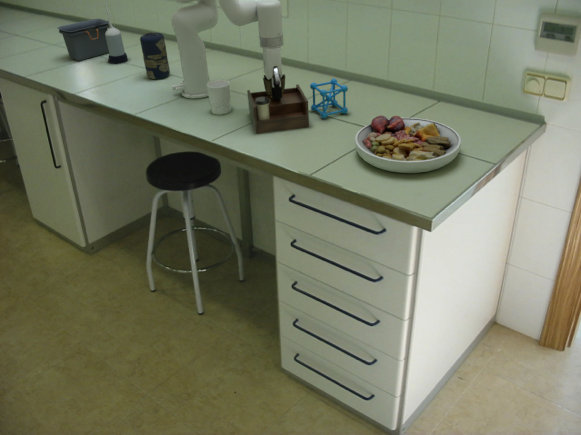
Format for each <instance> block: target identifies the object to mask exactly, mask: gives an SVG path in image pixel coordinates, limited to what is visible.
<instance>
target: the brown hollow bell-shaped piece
mask: <svg viewBox="0 0 581 435" xmlns="http://www.w3.org/2000/svg"><path fill="white" fill-rule="evenodd" d="M272 77H273V78H275V76H272ZM262 80H263V86H264V91H266V93H267V94H268V95H270V99H271V100H273V101H277V100H280V99H272V88H271V87H272V81H271V79H269V80H268V79H267V78H266V76H265V74H263V77H262ZM274 81H275V80H274ZM280 82H281V88H282V94H283V92H284V89H286V74H285V73H283V74H282V77H281V78H280Z"/></svg>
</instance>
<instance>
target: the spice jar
mask: <svg viewBox="0 0 581 435" xmlns="http://www.w3.org/2000/svg"><path fill="white" fill-rule="evenodd" d="M255 101H256V108H257V119H258V121H259V120H267V119H270V115H269V99H268V98H267V97H258V98H256V99H255Z"/></svg>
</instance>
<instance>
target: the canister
mask: <svg viewBox="0 0 581 435" xmlns="http://www.w3.org/2000/svg"><path fill="white" fill-rule="evenodd" d="M139 42H140V48H141V52H142V58H143V63H144V68H145V72H146V76H147V77H148V78H149V79H151V80H159V79H164V78H167V77H168V76H169V75H170V73H171V71H170V64H169V58H168V51H167V46H166V42H165V36H164V35H163V33H160V32H147V33H144V34H143V35H141V36H140V38H139Z"/></svg>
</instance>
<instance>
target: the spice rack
mask: <svg viewBox="0 0 581 435" xmlns="http://www.w3.org/2000/svg"><path fill="white" fill-rule="evenodd" d="M246 92H247V102H248V103H247V104H248V112H249V118H250V121H251V124H252V127H253V129H254V130H253V131H254V133H255V134H256V135H257V134H264V133H265V134H266V133H272V132H281V131H287V130H296V129H303V128H310V117H309V116H310V115H309V100H308V98H307V97H306V95H305V93H304V91H303V89H302V88H301V87H300V84H298V83H297V84H296V85H295V87H288V88H285V89H284V92H283V94H282V98H281V99H280V100H277V101H273V100H271V99H270V95H268V94H267V93H266V90H264V91H253V92H251V90H250V89H248V90H247V91H246ZM258 97H267V98H268V99H269V115H270V119H267V120H259V121H258V119H257V108H256V101H255V99H256V98H258Z"/></svg>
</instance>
